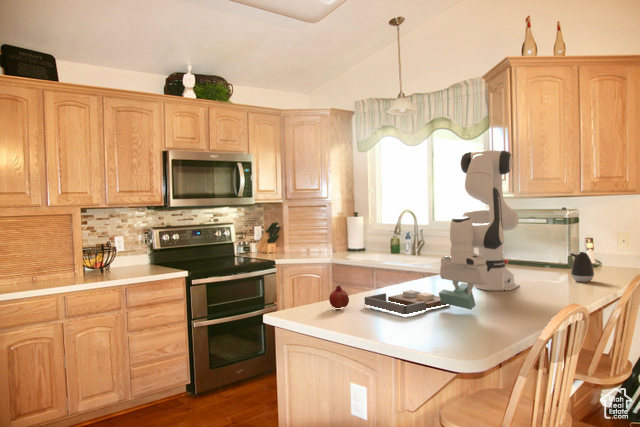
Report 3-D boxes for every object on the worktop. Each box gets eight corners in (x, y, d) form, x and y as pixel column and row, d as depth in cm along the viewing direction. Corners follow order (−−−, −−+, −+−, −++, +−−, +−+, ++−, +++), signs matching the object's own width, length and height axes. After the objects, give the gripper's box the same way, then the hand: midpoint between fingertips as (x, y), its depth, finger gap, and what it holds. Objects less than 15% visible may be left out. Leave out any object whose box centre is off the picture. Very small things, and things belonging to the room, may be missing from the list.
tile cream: (425, 297, 187) (425, 292, 187) (434, 299, 183) (434, 294, 183) (417, 299, 184) (416, 294, 184) (426, 301, 180) (426, 296, 180)
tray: (385, 303, 191) (384, 293, 191) (426, 312, 173) (425, 301, 173) (364, 307, 185) (364, 297, 185) (405, 318, 166) (404, 306, 166)
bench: (414, 298, 200) (413, 291, 200) (450, 305, 183) (449, 298, 183) (388, 303, 190) (388, 296, 190) (423, 312, 174) (423, 304, 174)
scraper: (454, 292, 181) (452, 281, 180) (484, 298, 170) (481, 286, 169) (441, 302, 177) (438, 291, 176) (471, 309, 165) (468, 297, 164)
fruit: (351, 311, 179) (350, 286, 179) (331, 312, 178) (330, 288, 178) (346, 306, 187) (346, 283, 187) (328, 308, 186) (327, 284, 186)
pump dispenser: (571, 279, 234) (571, 250, 234) (595, 280, 228) (594, 251, 227) (569, 282, 226) (568, 252, 225) (593, 283, 219) (592, 253, 219)
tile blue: (411, 294, 194) (410, 290, 194) (419, 296, 189) (419, 291, 189) (403, 296, 191) (402, 291, 191) (411, 298, 187) (411, 293, 187)
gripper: (436, 256, 180) (437, 290, 180) (479, 261, 163) (480, 298, 163) (446, 254, 183) (447, 287, 184) (489, 259, 166) (490, 295, 167)
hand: (463, 293), depth 174 cm, fingers closed on scraper, 3 cm apart
